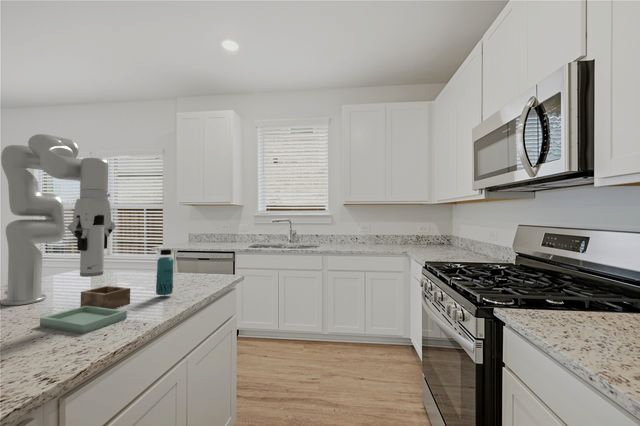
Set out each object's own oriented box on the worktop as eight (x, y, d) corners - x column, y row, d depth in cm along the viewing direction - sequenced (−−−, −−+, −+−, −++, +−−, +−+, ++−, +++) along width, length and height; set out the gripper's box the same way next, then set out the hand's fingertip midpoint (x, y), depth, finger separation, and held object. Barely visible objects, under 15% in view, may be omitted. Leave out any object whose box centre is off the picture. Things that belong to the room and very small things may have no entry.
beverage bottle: (152, 297, 128) (153, 249, 128) (165, 294, 134) (166, 248, 134) (163, 299, 125) (164, 250, 125) (176, 295, 131) (177, 249, 132)
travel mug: (92, 277, 98) (93, 214, 99) (74, 276, 100) (76, 214, 100) (108, 273, 104) (110, 215, 105) (92, 272, 106) (93, 214, 106)
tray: (39, 326, 94) (40, 317, 94) (86, 312, 107) (86, 305, 107) (83, 333, 89) (83, 325, 89) (126, 318, 102) (126, 311, 102)
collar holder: (80, 308, 112) (80, 291, 112) (107, 300, 122) (107, 285, 122) (104, 311, 109) (104, 294, 109) (129, 303, 119) (130, 288, 119)
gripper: (109, 197, 112) (108, 246, 111) (57, 193, 95) (56, 251, 95) (125, 197, 110) (124, 247, 109) (75, 193, 93) (74, 252, 93)
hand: (92, 249), depth 102 cm, fingers closed on travel mug, 6 cm apart
